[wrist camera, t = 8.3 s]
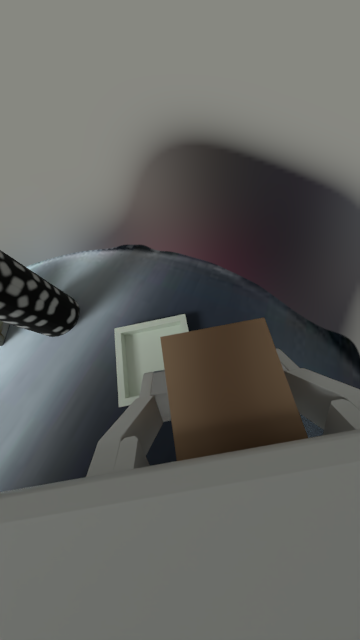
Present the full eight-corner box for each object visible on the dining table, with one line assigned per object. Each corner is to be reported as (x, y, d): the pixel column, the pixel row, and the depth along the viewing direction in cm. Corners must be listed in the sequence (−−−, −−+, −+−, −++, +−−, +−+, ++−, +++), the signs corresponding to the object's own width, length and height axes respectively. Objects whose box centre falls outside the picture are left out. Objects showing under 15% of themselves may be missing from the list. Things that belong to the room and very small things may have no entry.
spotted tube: (70, 289, 36) (-69, 187, 17) (86, 320, 33) (-59, 240, 14) (33, 311, 35) (-157, 230, 16) (46, 345, 32) (-165, 294, 14)
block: (187, 416, 13) (177, 463, 5) (178, 361, 14) (160, 337, 7) (241, 407, 13) (309, 440, 5) (227, 352, 14) (264, 317, 7)
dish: (125, 405, 28) (118, 407, 25) (120, 332, 32) (114, 328, 29) (200, 390, 27) (201, 391, 25) (186, 319, 31) (185, 313, 29)
